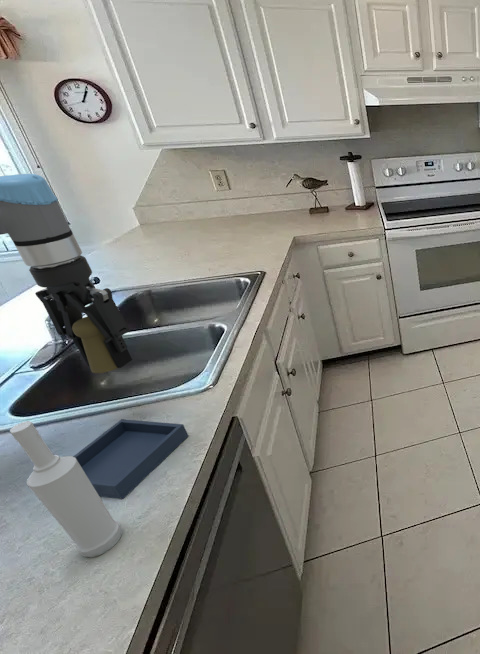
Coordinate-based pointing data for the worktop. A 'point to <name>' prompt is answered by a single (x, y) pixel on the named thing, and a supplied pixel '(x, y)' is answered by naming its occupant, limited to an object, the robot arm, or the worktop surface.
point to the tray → (128, 454)
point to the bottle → (68, 494)
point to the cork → (94, 346)
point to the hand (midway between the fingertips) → (110, 362)
